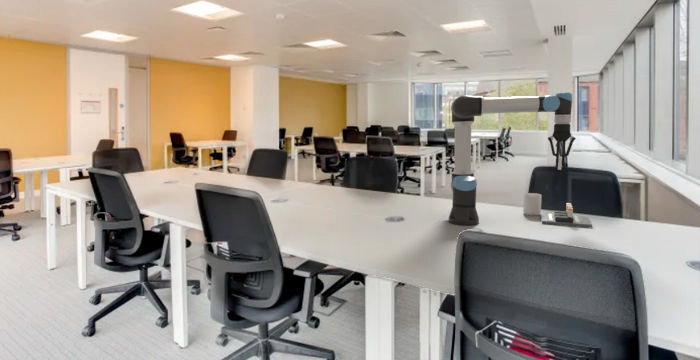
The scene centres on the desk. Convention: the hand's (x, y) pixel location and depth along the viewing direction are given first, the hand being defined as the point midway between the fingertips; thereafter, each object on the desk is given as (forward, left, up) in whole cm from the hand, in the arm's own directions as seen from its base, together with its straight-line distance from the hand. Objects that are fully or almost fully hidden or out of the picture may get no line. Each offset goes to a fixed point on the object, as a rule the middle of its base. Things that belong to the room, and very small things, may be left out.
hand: (559, 169), depth 215 cm
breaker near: (+6, -9, -23) cm, 25 cm away
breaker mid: (+6, -3, -23) cm, 23 cm away
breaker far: (+6, +3, -23) cm, 23 cm away
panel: (+4, -4, -26) cm, 27 cm away
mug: (-12, +10, -27) cm, 31 cm away
